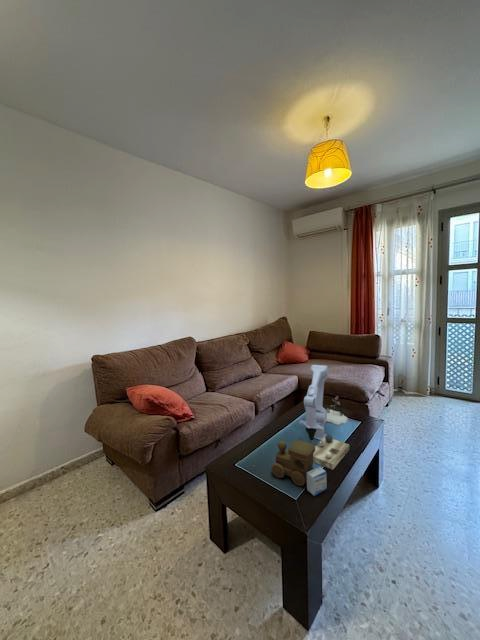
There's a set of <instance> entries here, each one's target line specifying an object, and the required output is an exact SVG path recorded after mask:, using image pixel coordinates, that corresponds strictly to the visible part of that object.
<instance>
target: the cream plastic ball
mask: <svg viewBox="0 0 480 640" xmlns="http://www.w3.org/2000/svg"><path fill="white" fill-rule="evenodd" d="M325 455H326V457H327V458H330V457H331V453H330V452H329V451H327V452H326V453H325Z"/></svg>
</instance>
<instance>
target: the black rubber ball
mask: <svg viewBox="0 0 480 640" xmlns="http://www.w3.org/2000/svg"><path fill="white" fill-rule="evenodd" d="M325 439H326V441H327V442H331V441H332V440H333V439H334V438H333V436H332V435H331V434H327V435H326V436H325Z"/></svg>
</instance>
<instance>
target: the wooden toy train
mask: <svg viewBox="0 0 480 640" xmlns="http://www.w3.org/2000/svg"><path fill="white" fill-rule="evenodd" d="M315 446H316V445H315V444H313V443H311V442H308V441H304V440H302V439H301V440H300V439H296V440H294V441H293V442H292V443H291V444H290V446H289V447H288V444H287V443H286V442H285V441H284V440H279V442H277V448H278V449H279V450H278V451H277V453H276V454H275V461H274V462H273V464H272V465H271V466H270V468H271V472H272V473H273V475H274V476H275V477H276V478H279V479H283V478H284V477H285V476H288V477H290V479H291V480H292V482H293V483H294V484H295V485H296V486H298V487H303V486H304V485H306V484H307V474H306V473H307V472H309V471H311V470H313V469H315V468H314V467H313V465H314V462H313V453H314V452H315ZM287 447H288V450H286V449H287Z"/></svg>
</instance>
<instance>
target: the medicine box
mask: <svg viewBox="0 0 480 640" xmlns="http://www.w3.org/2000/svg"><path fill="white" fill-rule="evenodd" d="M306 474H307V483H306V490H307V491H308V492H309V494H311V495H312V496H313V497H315V496H317V495H319V494H321V493H322V492H324V491H326V490H327V488H328V487H327V486H328V485H327V471H326V470H325V469H323V468H322V467H321V466H318V467H315V468H314V469H313V470H311V471H309V472H307V473H306Z"/></svg>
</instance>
